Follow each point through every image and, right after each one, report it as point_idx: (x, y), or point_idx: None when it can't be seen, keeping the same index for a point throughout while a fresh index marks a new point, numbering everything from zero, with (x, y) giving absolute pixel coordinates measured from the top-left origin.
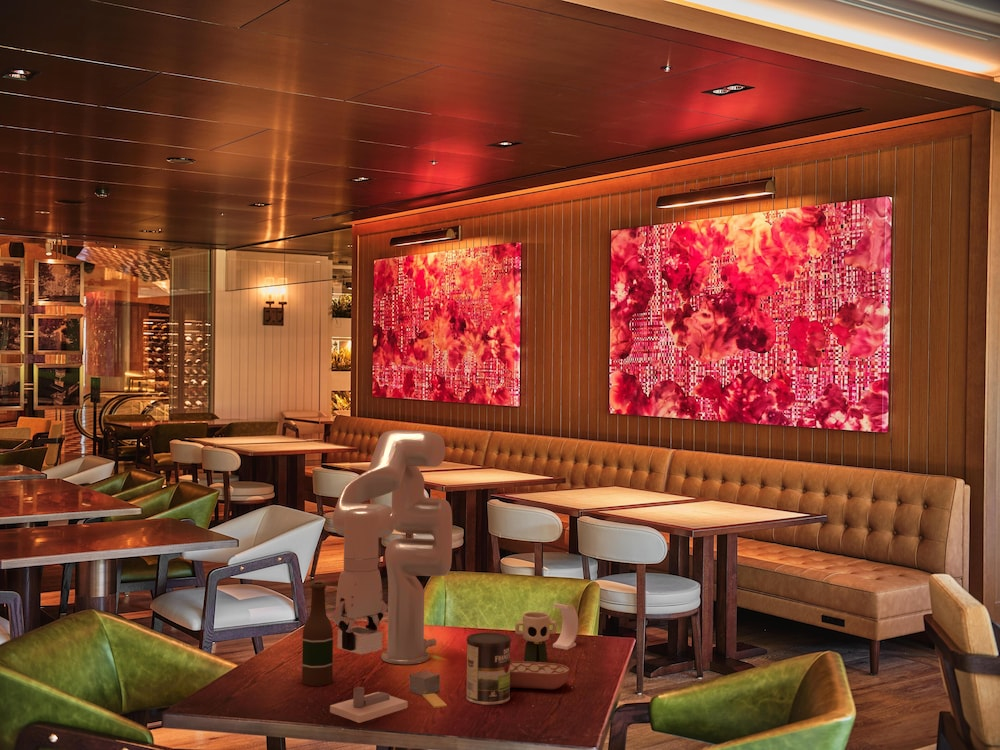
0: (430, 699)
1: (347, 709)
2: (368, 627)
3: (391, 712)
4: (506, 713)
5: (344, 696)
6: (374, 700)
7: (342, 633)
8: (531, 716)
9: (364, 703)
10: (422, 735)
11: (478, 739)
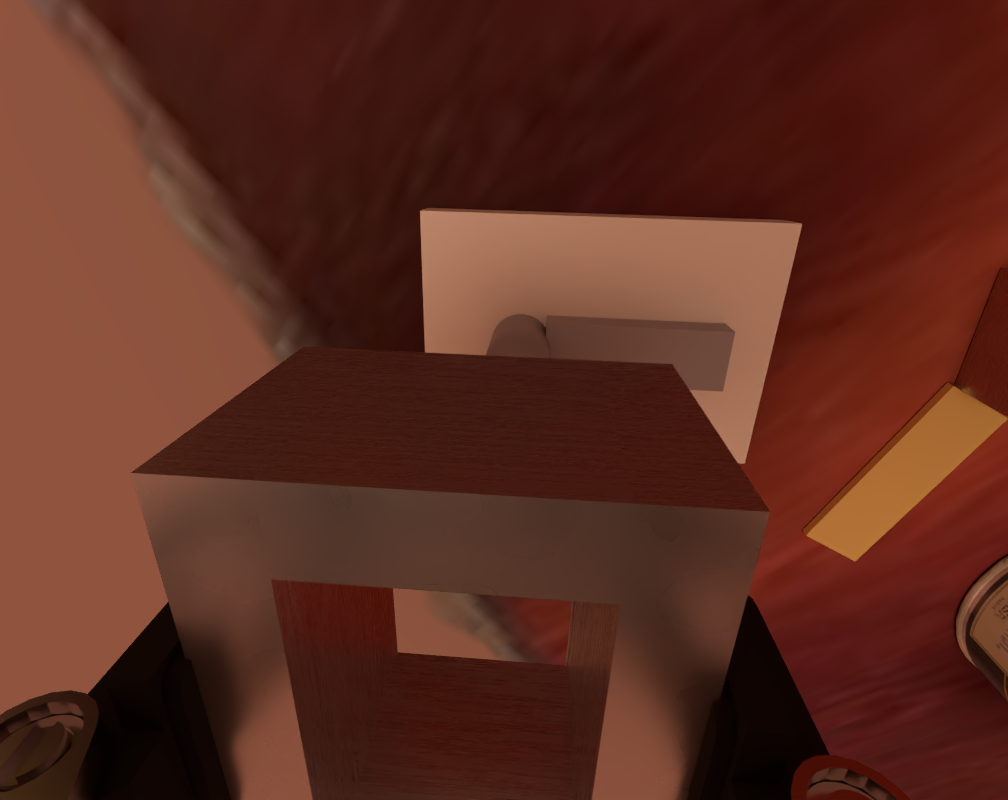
0: (893, 465)
1: (447, 335)
2: (697, 768)
3: None
4: (895, 734)
5: (695, 14)
6: None
7: (94, 697)
8: (907, 793)
9: None
10: None
11: None
